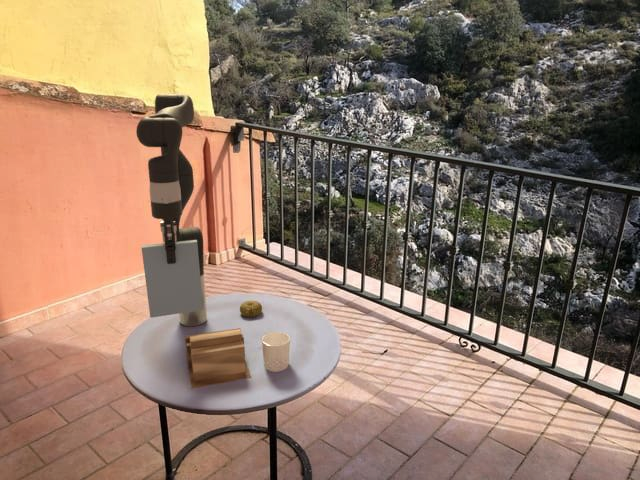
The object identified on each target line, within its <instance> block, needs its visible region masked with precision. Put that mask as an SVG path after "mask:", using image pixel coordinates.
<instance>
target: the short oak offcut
mask: <svg viewBox="0 0 640 480" xmlns="http://www.w3.org/2000/svg"><path fill="white" fill-rule="evenodd" d="M245 347H246V346H245V343H244V344H243V341H241V342H235V343H228V344H222V345H215V346H209V347H203V348H196V349H191V352H192V365H193V376H194V381H196V380H202V379H207V378H213V377H219V376H224V375H230V374H236V373H241V372H246V370H245V361H246V352H245Z"/></svg>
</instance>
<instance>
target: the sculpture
mask: <svg viewBox="0 0 640 480" xmlns="http://www.w3.org/2000/svg"><path fill="white" fill-rule="evenodd" d="M262 311H263V305H262V304H261V302H259V301H256V300H247V301H244V302H243V303H241V305H240V306H239V312H240V313H241V315H243V316H244V317H246V318H247V317H248V318H252V317H253V318H254V317H256V316H259V315H260V314H261V313H262Z"/></svg>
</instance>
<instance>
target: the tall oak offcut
mask: <svg viewBox="0 0 640 480" xmlns="http://www.w3.org/2000/svg"><path fill="white" fill-rule="evenodd" d="M240 329H241V328H240ZM240 329H238V330H231V331H224V332H218V333H211V334H204V335H197V336H191V337H190V347H191V349H196V348H203V347H209V346H215V345H222V344H228V343H235V342H241V341H242V335H243V333H242V329H241V330H240ZM191 359H192V352H191ZM192 370H193V365H192Z"/></svg>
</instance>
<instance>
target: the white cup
mask: <svg viewBox="0 0 640 480" xmlns="http://www.w3.org/2000/svg"><path fill="white" fill-rule="evenodd" d="M290 342H291V338H290V335H288V334H287V333H286V332H285V333H284V332H282V331H281V332H280V331H274V332H272V331H271V332H269V333H266V334H264V335H263V336H262V337H261V347H262V356H263V357H262V358H263V366H264V368H265V369H266V370H268V372H269V371H270V372H276V373H277V372H282V371H284V370H286V369H287V368H288V367H289V363H290V362H289V361H290V345H291V344H290Z"/></svg>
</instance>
